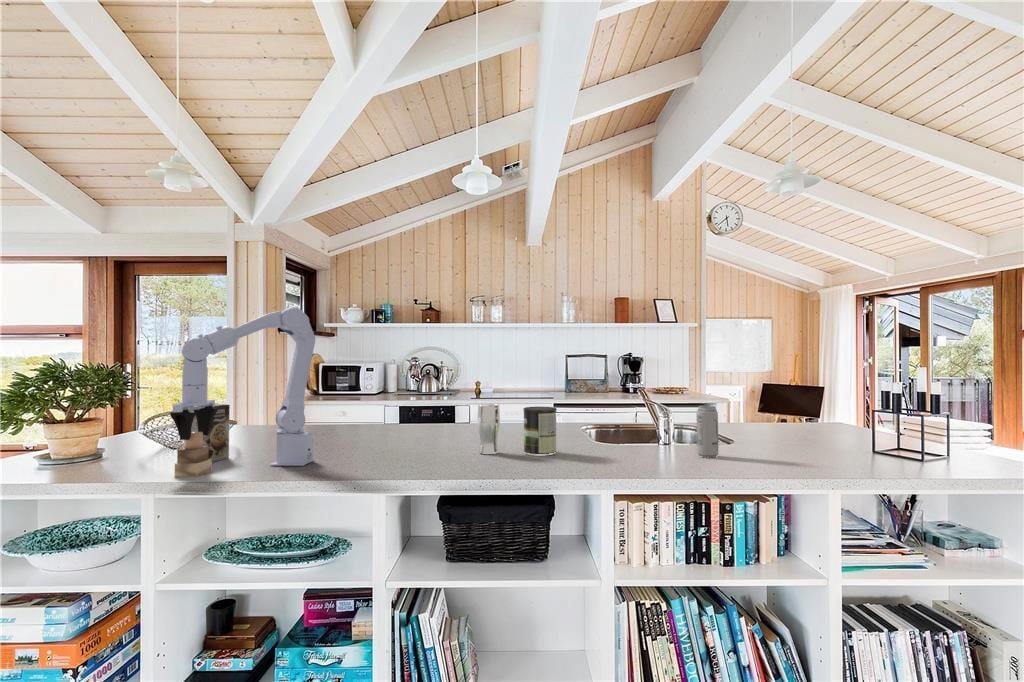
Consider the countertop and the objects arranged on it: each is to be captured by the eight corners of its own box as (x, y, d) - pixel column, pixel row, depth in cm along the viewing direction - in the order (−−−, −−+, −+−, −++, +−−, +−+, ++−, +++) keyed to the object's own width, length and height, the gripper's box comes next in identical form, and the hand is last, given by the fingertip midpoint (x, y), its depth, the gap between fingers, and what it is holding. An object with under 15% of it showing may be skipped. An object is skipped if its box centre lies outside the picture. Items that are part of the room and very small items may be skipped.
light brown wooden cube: (205, 446, 144) (206, 431, 144) (197, 449, 140) (197, 433, 140) (191, 446, 144) (191, 431, 144) (181, 449, 140) (181, 433, 140)
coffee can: (521, 456, 165) (521, 409, 166) (525, 450, 175) (525, 406, 176) (555, 456, 164) (555, 409, 164) (557, 450, 174) (557, 406, 174)
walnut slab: (208, 459, 144) (208, 446, 144) (195, 463, 139) (195, 449, 139) (191, 459, 145) (191, 446, 145) (177, 463, 140) (177, 449, 140)
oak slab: (211, 472, 145) (211, 459, 145) (197, 477, 139) (197, 463, 139) (189, 472, 145) (189, 459, 145) (174, 477, 139) (174, 463, 139)
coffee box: (207, 463, 155) (208, 406, 156) (187, 463, 156) (188, 406, 157) (230, 457, 164) (230, 404, 164) (211, 457, 165) (212, 403, 166)
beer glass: (499, 455, 167) (499, 406, 167) (476, 455, 167) (476, 406, 167) (500, 451, 174) (500, 404, 174) (478, 451, 174) (478, 404, 174)
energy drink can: (718, 459, 159) (717, 407, 160) (696, 457, 161) (695, 406, 162) (718, 455, 165) (717, 405, 165) (697, 454, 167) (697, 405, 167)
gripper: (197, 383, 150) (196, 433, 150) (161, 386, 135) (160, 441, 135) (222, 383, 150) (222, 433, 149) (188, 386, 135) (188, 441, 135)
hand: (194, 437), depth 142 cm, fingers open, 7 cm apart
